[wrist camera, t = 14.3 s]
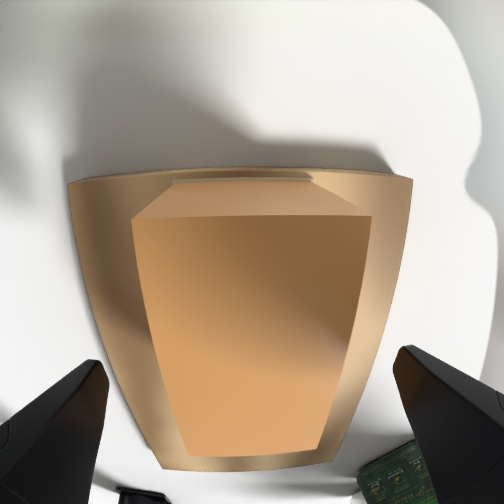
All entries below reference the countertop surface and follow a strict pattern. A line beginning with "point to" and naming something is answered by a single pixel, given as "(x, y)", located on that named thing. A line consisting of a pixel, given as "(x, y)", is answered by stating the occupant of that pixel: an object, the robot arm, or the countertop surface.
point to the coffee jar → (398, 479)
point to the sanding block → (250, 307)
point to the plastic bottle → (358, 498)
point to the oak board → (136, 322)
